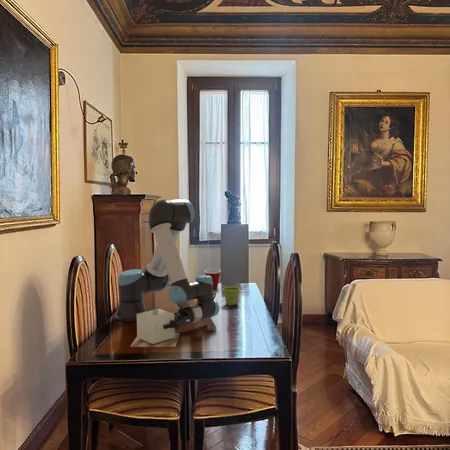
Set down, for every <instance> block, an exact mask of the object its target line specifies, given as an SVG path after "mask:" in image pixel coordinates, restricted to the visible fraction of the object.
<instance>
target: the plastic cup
mask: <svg viewBox="0 0 450 450" xmlns="http://www.w3.org/2000/svg"><path fill="white" fill-rule="evenodd" d="M203 271H204V274H205V275H208V276H211V277H212V281H213V290H217V289H219V281H220V276H221V272H222V270H221V269H220V268H208V269H204V270H203Z"/></svg>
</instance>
